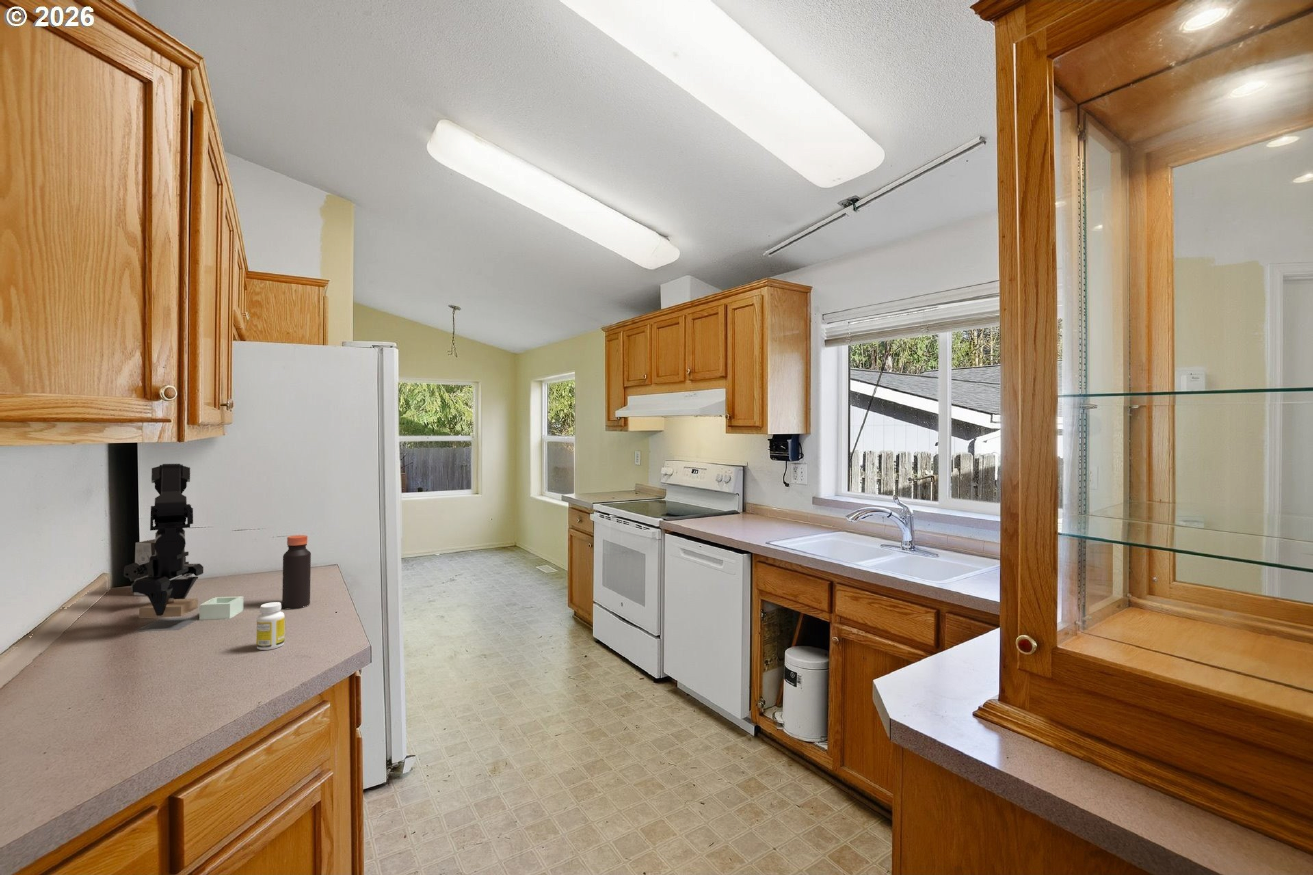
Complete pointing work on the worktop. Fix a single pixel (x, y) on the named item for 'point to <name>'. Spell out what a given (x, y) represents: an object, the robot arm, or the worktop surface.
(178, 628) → the mat
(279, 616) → the supplement bottle
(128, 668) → the worktop surface
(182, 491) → the robot arm
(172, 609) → the cover
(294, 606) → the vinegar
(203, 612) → the pale green box
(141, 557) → the coffee box
